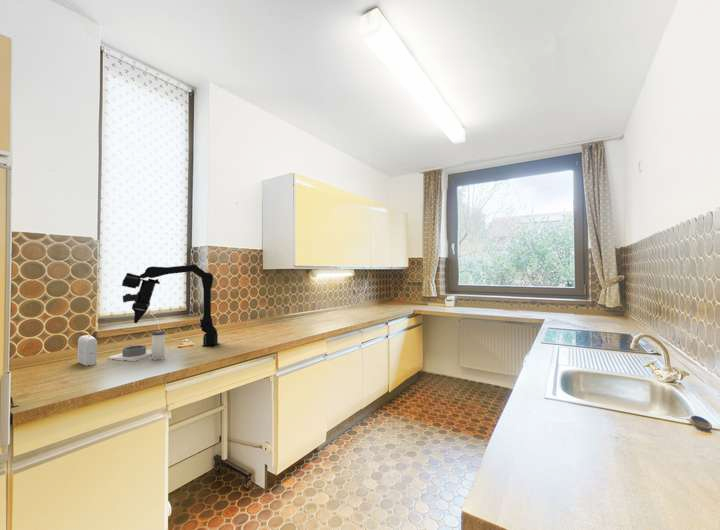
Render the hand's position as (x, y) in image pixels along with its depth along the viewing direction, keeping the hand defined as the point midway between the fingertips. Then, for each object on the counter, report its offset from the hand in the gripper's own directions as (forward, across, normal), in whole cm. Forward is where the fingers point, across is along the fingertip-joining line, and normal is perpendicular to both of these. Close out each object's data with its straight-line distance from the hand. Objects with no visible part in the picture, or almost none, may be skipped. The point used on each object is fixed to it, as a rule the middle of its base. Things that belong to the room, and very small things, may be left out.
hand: (136, 321), depth 157 cm
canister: (+13, +16, +14) cm, 24 cm away
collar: (+15, +6, +4) cm, 17 cm away
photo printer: (+20, +10, -12) cm, 25 cm away
